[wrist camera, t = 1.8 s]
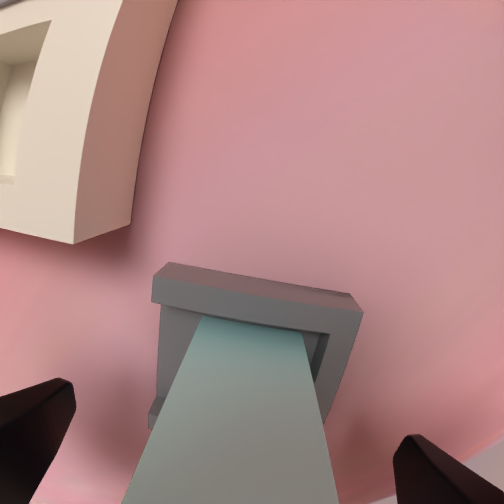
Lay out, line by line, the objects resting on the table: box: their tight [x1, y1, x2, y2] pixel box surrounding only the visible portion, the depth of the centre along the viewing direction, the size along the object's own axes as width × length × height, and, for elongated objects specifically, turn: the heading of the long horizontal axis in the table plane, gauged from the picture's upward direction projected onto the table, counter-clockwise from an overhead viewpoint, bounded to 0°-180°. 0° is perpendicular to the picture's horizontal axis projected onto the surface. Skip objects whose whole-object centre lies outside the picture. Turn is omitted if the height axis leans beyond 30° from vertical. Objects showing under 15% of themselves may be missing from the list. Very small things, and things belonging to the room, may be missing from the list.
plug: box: [122, 316, 339, 504], centre depth 6 cm, size 3×3×8 cm
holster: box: [148, 262, 363, 430], centre depth 10 cm, size 6×6×2 cm
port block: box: [0, 0, 178, 244], centre depth 7 cm, size 9×12×4 cm
